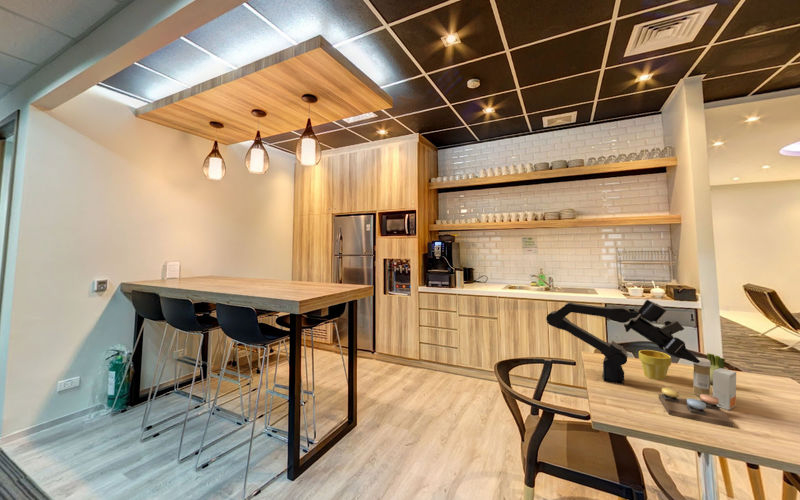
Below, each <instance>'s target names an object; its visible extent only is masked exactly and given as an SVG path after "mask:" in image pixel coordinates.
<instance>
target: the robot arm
mask: <svg viewBox="0 0 800 500" xmlns="http://www.w3.org/2000/svg"><path fill="white" fill-rule="evenodd" d="M667 311H668V310H667V309H666V308H665V307H664V306H662V305H660V304H658V303H655V302H653V301H651V300H649V299H645V301H644V302H643V304H642V305H641V306H640V307H639V308H628V307H626V306H624V305H617V306H616V305H613V306H612V305H611V306H600V305H599V306H598V305H591V304H585V303H584V304H582V303H576V302H571V301H569V302H567V303H565V304H564V306H562V307H561V308H559V309H558V310H553V311H551V312H549V313H548V314H547V315H546V318H545V319H546V322H547V324H548V325H549V326H551V327H554V328H556V329H559V330H563V331H565V332H567V333H569V334H570V335H572V336H573V337H576V338H578V339H579V340H581V341H583V342H585V343H586V344H587V345H590V346H591V347H592V348H594V349H596V350H598V351H599V352H601V354H602V355H603V356H604V358H603V361H602V375H601V376H602V380H603V382H606V383H612V384H617V385H624V382H625V370H624V368H623V365H625V364H627V361H628V351H627V350H626V349H625V348H624V346H623V345H620V344H619V343H616V342H615V341H614V340H611V342H606V341H604V340H603V339H600V338H599V337H598V336H596V335H594V334H592V333H590V332H588V331H587V330H585V329H584V328H582V327H580V326H578V325H577V324H575V323H574V322H572V321H570V319H568V318H567V316H568V315H569V314H570V313H573V314H574V313H575V314H582V315H589V316H595V317H602V318H606V319H608V320H610V321H614V322H617V323H621V324H623V326H624V328H625V332H626V333H629V331H630V330H632V331H634V332H635V333H637V334H639V335H640V336H642V337H643V338H645V339H646V340H648V341H650V342H651V343H653V344H654V345H656V347H658V348H660V350H663V351H664V352H666V354H668V355H670V356H672V357H676V358H680V359H683V360H686V361H690V362H692V363H693V362H695V363H699V362H700V361H699V360H698V359H697V358H696V357H697V356H695V355H694V354H693V353H691V352H690V351H689V350H688V349H687V348H686V343H685V341H684V340H682V339H680V338H678V337H677V336H676V337H675V336H674V334H676V333H678V332H682V331H684V330H685V328H684V326H682V324H681V323H680V322H679V321H678V320H675V321H670V320H666V321H664V322H663V326H661V327H659V326H655V325H654V324H652V323H653V322H658V321H659V320H660V319H661V318H662V316H664V315H665V313H666V312H667Z"/></svg>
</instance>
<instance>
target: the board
mask: <svg viewBox="0 0 800 500" xmlns="http://www.w3.org/2000/svg"><path fill="white" fill-rule="evenodd" d="M687 399H688V398H683V397H674V398H669V397H667V396H666V395H665V394H663V393H661V394H660V393H658V400H659V401H660V403H661V404H662V406H663V408H664V409H665V412H667V414H668V415H670V416H674V417H680V418H684V419H689V420H694V421H700V422H704V423H710V424H714V425H720V426H725V427H729V428H734V422H733V420H732V419H731V418H730V417H729V416H728V415H727V414H726V413H725V412H724V411H723V410H722V408H721V407H718V406H717V405H716V404H714V405H708V404H706V403H705V402H704V401H702V400H701V399H700V401H702V402H704V403H705V404H706V409H701V410H695V409H693V408H692V407H691V406H689V405H688V404H687Z"/></svg>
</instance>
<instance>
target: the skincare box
mask: <svg viewBox="0 0 800 500" xmlns="http://www.w3.org/2000/svg"><path fill="white" fill-rule="evenodd" d="M712 396H714V397H716V398H718V399H719V404H716V405H717V406H718V407H719V408H720V409H723V410H727V411H729V410H732V409H733V408H735V407H736V404H737V403H736V398H737V371H733V370H730V369H726V368H724V369H723V368H719V369H716V370H714V371H713V385H712Z"/></svg>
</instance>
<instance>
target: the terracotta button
mask: <svg viewBox="0 0 800 500" xmlns="http://www.w3.org/2000/svg"><path fill="white" fill-rule="evenodd" d="M699 399H700V400H702V401H704V402H705V403H706V404H708V405H714V404H719V399H718V398H716V397H714V396H713V395H711V394H710V395H707V394H700V397H699Z"/></svg>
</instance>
